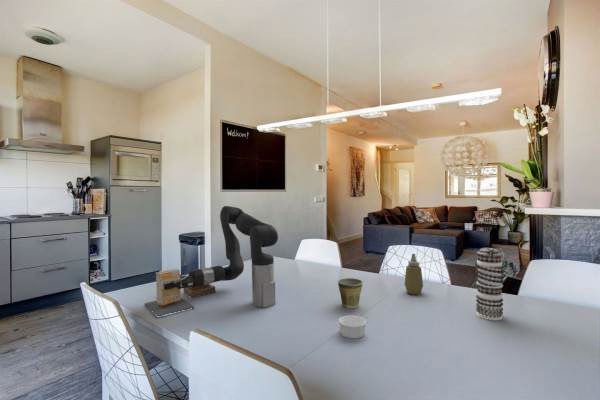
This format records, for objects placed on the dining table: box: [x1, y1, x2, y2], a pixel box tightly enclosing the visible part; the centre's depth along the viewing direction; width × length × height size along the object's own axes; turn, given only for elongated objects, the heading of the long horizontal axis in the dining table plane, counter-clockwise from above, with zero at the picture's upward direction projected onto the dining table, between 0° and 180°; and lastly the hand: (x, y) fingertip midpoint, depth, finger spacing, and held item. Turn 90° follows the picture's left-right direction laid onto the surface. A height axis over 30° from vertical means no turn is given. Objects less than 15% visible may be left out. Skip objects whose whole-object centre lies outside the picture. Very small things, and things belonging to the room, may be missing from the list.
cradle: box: [183, 283, 216, 298], centre depth 145 cm, size 9×12×2 cm
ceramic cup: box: [337, 277, 363, 309], centre depth 127 cm, size 13×10×10 cm
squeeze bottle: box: [404, 253, 424, 295], centre depth 140 cm, size 8×8×18 cm
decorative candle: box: [474, 247, 505, 321], centre depth 113 cm, size 9×9×25 cm
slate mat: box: [144, 297, 195, 316], centre depth 127 cm, size 18×14×1 cm
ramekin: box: [338, 315, 367, 339], centre depth 101 cm, size 9×9×4 cm
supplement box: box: [155, 268, 182, 306], centre depth 127 cm, size 8×5×13 cm, turn 140°
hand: (162, 285), depth 125 cm, fingers open, 5 cm apart
